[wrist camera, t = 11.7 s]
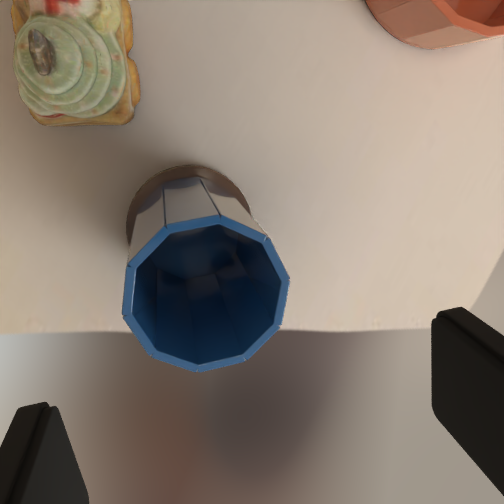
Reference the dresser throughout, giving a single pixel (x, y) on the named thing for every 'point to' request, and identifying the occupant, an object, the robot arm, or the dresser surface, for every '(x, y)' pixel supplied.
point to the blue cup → (201, 278)
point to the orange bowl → (440, 21)
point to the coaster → (176, 174)
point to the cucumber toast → (75, 61)
